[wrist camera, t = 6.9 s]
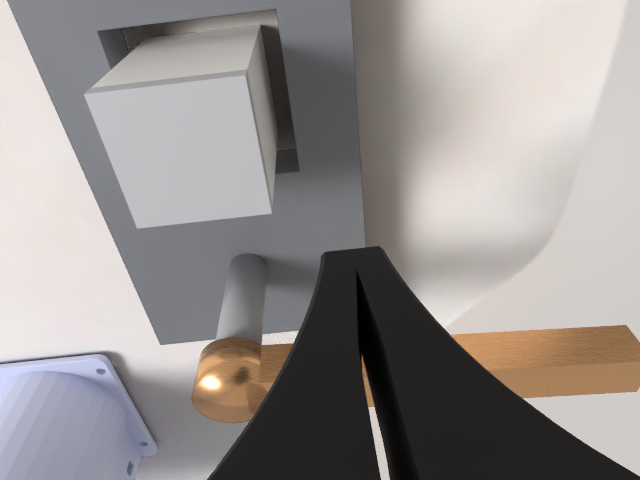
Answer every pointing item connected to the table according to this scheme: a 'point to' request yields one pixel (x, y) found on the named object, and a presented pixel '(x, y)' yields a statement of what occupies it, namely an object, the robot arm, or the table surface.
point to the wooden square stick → (487, 348)
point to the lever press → (233, 233)
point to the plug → (190, 127)
